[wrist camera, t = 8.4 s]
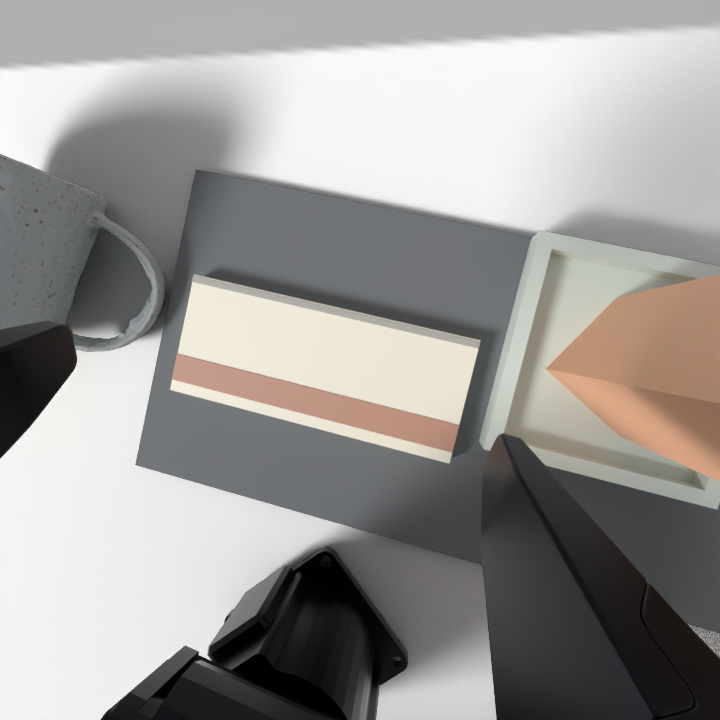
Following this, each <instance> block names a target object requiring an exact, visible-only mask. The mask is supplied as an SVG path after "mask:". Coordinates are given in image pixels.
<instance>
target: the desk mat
mask: <svg viewBox="0 0 720 720" xmlns="http://www.w3.org/2000/svg"><path fill="white" fill-rule="evenodd" d="M531 238H532V237H528V236H523V235H518V234H513V233H508V232H503V231H498V230H493V229H488V228H483V227H478V226H473V225H468V224H463V223H458V222H453V221H448V220H444V219H439V218H434V217H429V216H424V215H419V214H414V213H409V212H404V211H399V210H394V209H389V208H384V207H379V206H374V205H369V204H364V203H359V202H355V201H350V200H345V199H340V198H335V197H330V196H325V195H320V194H315V193H310V192H305V191H300V190H295V189H290V188H285V187H280V186H275V185H270V184H265V183H261V182H256V181H251V180H246V179H241V178H236V177H231V176H226V175H221V174H216V173H211V172H206V171H201V170H196V172H195V177H194V181H193V186H192V191H191V196H190V201H189V206H188V211H187V216H186V221H185V225H184V230H183V235H182V240H181V245H180V250H179V255H178V260H177V265H176V269H175V274H174V279H173V284H172V289H171V294H170V299H169V304H168V308H167V313H166V318H165V323H164V328H163V333H162V338H161V343H160V348H159V352H158V357H157V362H156V367H155V372H154V377H153V382H152V387H151V392H150V396H149V401H148V406H147V411H146V416H145V421H144V426H143V431H142V435H141V440H140V445H139V450H138V455H137V460H136V465H138V466H141V467H145V468H148V469H151V470H155V471H158V472H162V473H165V474H169V475H172V476H176V477H179V478H183V479H186V480H190V481H193V482H197V483H200V484H204V485H207V486H211V487H214V488H218V489H221V490H224V491H228V492H231V493H235V494H238V495H242V496H245V497H249V498H252V499H256V500H259V501H263V502H266V503H270V504H273V505H277V506H280V507H284V508H287V509H291V510H294V511H297V512H301V513H304V514H308V515H311V516H315V517H318V518H322V519H325V520H329V521H332V522H336V523H339V524H343V525H346V526H350V527H353V528H357V529H360V530H364V531H367V532H370V533H374V534H377V535H381V536H384V537H388V538H391V539H395V540H398V541H402V542H405V543H409V544H412V545H416V546H419V547H423V548H426V549H430V550H433V551H437V552H440V553H443V554H447V555H450V556H454V557H457V558H461V559H464V560H468V561H471V562H475V563H478V564H482V565H483V563H482V552H481V503H482V471H483V466H484V462H485V460H486V458H487V456H488V454H489V452H490V451H488V450H484V449H483V447H482V446H481V444H480V443H479V439H480V435H481V431H482V427H483V423H484V419H485V415H486V411H487V407H488V403H489V400H490V396H491V392H492V388H493V384H494V380H495V376H496V372H497V368H498V364H499V361H500V357H501V353H502V349H503V345H504V341H505V337H506V333H507V329H508V326H509V322H510V318H511V314H512V310H513V306H514V302H515V298H516V294H517V290H518V287H519V283H520V279H521V275H522V271H523V267H524V263H525V259H526V255H527V251H528V248H529V244H530V240H531ZM194 274H195V275H199V276H204V277H208V278H212V279H217V280H221V281H225V282H230V283H234V284H238V285H243V286H247V287H251V288H256V289H260V290H264V291H269V292H273V293H277V294H282V295H286V296H290V297H295V298H299V299H303V300H308V301H312V302H316V303H321V304H325V305H329V306H334V307H338V308H342V309H347V310H351V311H355V312H360V313H364V314H368V315H373V316H377V317H381V318H386V319H390V320H394V321H399V322H403V323H407V324H412V325H416V326H420V327H425V328H429V329H433V330H438V331H442V332H446V333H451V334H455V335H459V336H464V337H468V338H472V339H477V340H481V341H480V345H479V349H478V353H477V357H476V361H475V365H474V369H473V373H472V376H471V380H470V384H469V388H468V392H467V396H466V400H465V404H464V408H463V412H462V416H461V420H460V424H459V428H458V432H457V436H456V440H455V444H454V448H453V452H452V456H451V459H450V463H445V462H441V461H437V460H433V459H430V458H426V457H422V456H418V455H415V454H411V453H407V452H403V451H399V450H396V449H392V448H388V447H384V446H381V445H377V444H373V443H369V442H365V441H362V440H358V439H354V438H350V437H346V436H343V435H339V434H335V433H331V432H328V431H324V430H320V429H316V428H312V427H309V426H305V425H301V424H297V423H293V422H290V421H286V420H282V419H278V418H275V417H271V416H267V415H263V414H259V413H256V412H252V411H248V410H244V409H241V408H237V407H233V406H229V405H225V404H222V403H218V402H214V401H210V400H206V399H203V398H199V397H195V396H191V395H188V394H184V393H180V392H176V391H172V390H170V387H171V382H172V375H173V371H174V366H175V361H176V356H177V354H178V349H179V344H180V339H181V334H182V329H183V325H184V320H185V315H186V310H187V305H188V301H189V296H190V291H191V286H192V279H193V275H194ZM545 466H546V465H545ZM546 467H547V468H548V469H549V470H550V471H551V472H552V474H553V475H554V476H555V477H556V478H557V479H558V480H559V481H560V483H561V484H562V485H563V486H564V487H565V488H566V489H567V490H568V492H569V493H570V494H571V495H572V496H573V497H574V498H575V499H576V501H577V502H578V503H579V504H580V505H581V506H582V507H583V508H584V510H585V511H586V512H587V513H588V514H589V515H590V516H591V517H592V519H593V520H594V521H595V522H596V523H597V524H598V525H599V526H600V528H601V529H602V530H603V531H604V532H605V533H606V534H607V535H608V537H609V538H610V539H611V540H612V541H613V542H614V543H615V544H616V546H617V547H618V548H619V549H620V550H621V551H622V552H623V553H624V555H625V556H626V557H627V558H628V559H629V560H630V561H631V562H632V564H633V565H634V566H635V567H636V568H637V569H638V570H639V571H640V573H641V574H642V575H643V576H644V577H645V578H646V583H650V584H651V585H652V586H653V587H654V588H655V589H656V590H657V591H658V593H659V594H660V595H661V596H662V597H663V598H664V599H665V600H666V602H667V603H668V604H669V605H670V606H671V607H672V608H673V609H674V610H675V611H676V613H677V614H678V615H679V616H680V617H681V618H682V619H683V620H684V621H685V622H686V623H687V624H690V625H694V626H697V627H701V628H704V629H708V630H711V631H715V632H718V633H720V503H719V506H718V510H716V509H713V508H709V507H705V506H701V505H697V504H693V503H689V502H685V501H682V500H678V499H674V498H670V497H666V496H662V495H658V494H655V493H651V492H647V491H643V490H639V489H635V488H631V487H627V486H624V485H620V484H616V483H612V482H608V481H604V480H600V479H596V478H593V477H589V476H585V475H581V474H577V473H573V472H569V471H565V470H562V469H558V468H554V467H550V466H546Z"/></svg>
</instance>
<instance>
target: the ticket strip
mask: <svg viewBox="0 0 720 720" xmlns="http://www.w3.org/2000/svg"><path fill="white" fill-rule="evenodd" d="M480 341H481V340H477V339H472V338H468V337H464V336H459V335H455V334H451V333H446V332H442V331H438V330H433V329H429V328H425V327H420V326H416V325H412V324H407V323H403V322H399V321H394V320H390V319H386V318H381V317H377V316H373V315H368V314H364V313H360V312H355V311H351V310H347V309H342V308H338V307H334V306H329V305H325V304H321V303H316V302H312V301H308V300H303V299H299V298H295V297H290V296H286V295H282V294H277V293H273V292H269V291H264V290H260V289H256V288H251V287H247V286H243V285H238V284H234V283H230V282H225V281H221V280H217V279H212V278H208V277H204V276H199V275H195V274H194V275H193V279H192V286H191V291H190V296H189V301H188V305H187V310H186V315H185V320H184V325H183V329H182V334H181V339H180V344H179V349H178V354H177V356H176V361H175V366H174V371H173V375H172V382H171V387H170V390H172V391H176V392H180V393H184V394H188V395H191V396H195V397H199V398H203V399H206V400H210V401H214V402H218V403H222V404H225V405H229V406H233V407H237V408H241V409H244V410H248V411H252V412H256V413H259V414H263V415H267V416H271V417H275V418H278V419H282V420H286V421H290V422H293V423H297V424H301V425H305V426H309V427H312V428H316V429H320V430H324V431H328V432H331V433H335V434H339V435H343V436H346V437H350V438H354V439H358V440H362V441H365V442H369V443H373V444H377V445H381V446H384V447H388V448H392V449H396V450H399V451H403V452H407V453H411V454H415V455H418V456H422V457H426V458H430V459H433V460H437V461H441V462H445V463H450V459H451V456H452V452H453V448H454V444H455V440H456V436H457V432H458V428H459V424H460V420H461V416H462V412H463V408H464V404H465V400H466V396H467V392H468V388H469V384H470V380H471V376H472V373H473V369H474V365H475V361H476V357H477V353H478V349H479V345H480Z"/></svg>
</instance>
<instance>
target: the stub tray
mask: <svg viewBox="0 0 720 720" xmlns="http://www.w3.org/2000/svg"><path fill="white" fill-rule="evenodd" d="M718 274H720V266H716V265H711V264H706V263H701V262H696V261H691V260H686V259H681V258H676V257H671V256H666V255H661V254H656V253H651V252H646V251H641V250H636V249H631V248H626V247H621V246H616V245H611V244H606V243H601V242H596V241H591V240H586V239H581V238H576V237H571V236H566V235H561V234H556V233H551V232H546V231H541V230H540V231H539V232H538V233H537V234H536V235H535V236H534V237H532V238H531V240H530V244H529V248H528V251H527V255H526V259H525V263H524V267H523V271H522V275H521V279H520V283H519V287H518V290H517V294H516V298H515V302H514V306H513V310H512V314H511V318H510V322H509V326H508V329H507V333H506V337H505V341H504V345H503V349H502V353H501V357H500V361H499V364H498V368H497V372H496V376H495V380H494V384H493V388H492V392H491V396H490V400H489V403H488V407H487V411H486V415H485V419H484V423H483V427H482V431H481V435H480V439H479V443H480V444H481V446H482V447H483V449H484V450H488V451H490V450H491V448H492V446H493V443H494V441H495V439H496V438H497V436H498V435H499V434H501V433H504V434H508V435H513V436H517V437H519V438H521V439H522V440H523V441H524V442H525V443H526V444H527V445H528V447H529V448H530V449H531V450H532V451H533V452H534V453H535V454H536V456H537V457H538V458H539V459H540V460H541V461H542V462H543V463H544V465H546V466H550V467H554V468H558V469H562V470H565V471H569V472H573V473H577V474H581V475H585V476H589V477H593V478H596V479H600V480H604V481H608V482H612V483H616V484H620V485H624V486H627V487H631V488H635V489H639V490H643V491H647V492H651V493H655V494H658V495H662V496H666V497H670V498H674V499H678V500H682V501H685V502H689V503H693V504H697V505H701V506H705V507H709V508H713V509H716V510H718V506H719V503H720V482H719V481H717V480H714V479H712V478H710V477H708V476H706V475H704V474H701V473H699V472H697V471H695V470H693V469H690V468H688V467H686V466H684V465H682V464H680V463H677V462H675V461H673V460H671V459H669V458H666V457H664V456H662V455H660V454H658V453H655V452H653V451H651V450H649V449H647V448H645V447H642V446H640V445H638V444H636V443H634V442H631V441H629V440H627V439H625V438H623V437H620V436H618V435H617V434H616V433H615V432H614V431H613V430H612V429H611V428H610V427H609V426H608V425H606V424H605V423H604V422H603V421H602V420H601V419H600V418H599V417H598V416H597V415H595V414H594V413H593V412H592V411H591V410H590V409H589V408H588V407H587V406H586V405H584V404H583V403H582V402H581V401H580V400H579V399H578V398H577V397H576V396H575V395H574V394H572V393H571V392H570V391H569V390H568V389H567V388H566V387H565V386H564V385H563V384H561V383H560V382H559V381H558V380H557V379H556V378H555V377H554V376H553V375H552V374H550V373H549V372H548V371H547V370H546V368H547V367H548V366H549V365H550V364H551V363H552V362H553V361H554V360H555V359H556V358H557V357H558V356H559V355H560V354H561V353H562V352H563V351H564V350H565V349H566V348H567V347H568V346H569V345H570V344H571V343H572V342H573V341H574V340H575V339H576V338H577V337H578V336H579V335H580V334H581V333H582V332H583V331H584V330H585V329H586V328H587V327H588V326H589V325H590V324H591V323H592V322H593V321H594V320H595V319H596V318H597V317H598V316H599V315H600V314H601V313H602V312H603V311H604V310H605V309H606V308H607V307H608V306H609V305H610V304H611V303H612V302H613V301H614V300H615V299H616V298H617V297H621V296H625V295H630V294H634V293H639V292H643V291H647V290H652V289H656V288H661V287H665V286H669V285H674V284H678V283H682V282H687V281H691V280H696V279H700V278H704V277H709V276H713V275H718Z"/></svg>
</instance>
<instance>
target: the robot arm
mask: <svg viewBox="0 0 720 720" xmlns="http://www.w3.org/2000/svg"><path fill="white" fill-rule="evenodd" d="M76 363H77V355H76V349H75V343H74V337H73V332H72V329H71V328H70V327H69V326H68V325H66V324H62V323H58V322H54V321H41V322H36V323H31V324H25V325H20V326H15V327H10V328H5V329H0V458H1V457H2V456H3V455H4V454H5V453H6V452H7V451H8V450H9V449H10V448H11V447H12V446H13V445H14V444H15V443H16V442H17V440H18V439H19V438H20V437H21V436H22V435H23V434H24V433H25V432H26V431H27V430H28V428H29V427H30V426H31V425H32V424H33V423H34V421H35V420H36V419H37V418H38V416H39V415H40V414H41V412H42V411H43V410H44V408H45V407H46V406H47V405H48V403H49V402H50V401H51V399H52V398H53V397H54V395H55V394H56V393H57V392H58V390H59V389H60V388H61V386H62V385H63V384H64V382H65V381H66V380H67V378H68V377H69V376H70V375H71V373H72V372H73V370H74V369H75V367H76ZM481 552H482V563H483V574H484V585H485V596H486V607H487V618H488V629H489V640H490V651H491V662H492V673H493V684H494V695H495V706H496V716H497V720H720V658H719V657H718V656H717V655H716V654H715V653H714V652H713V651H712V650H711V649H710V648H709V647H708V646H707V645H706V644H705V642H704V641H703V640H702V639H701V638H700V637H699V636H698V635H697V634H696V633H695V632H694V631H693V630H692V629H691V628H690V627H689V626H688V624H687V623H686V622H685V621H684V620H683V619H682V618H681V617H680V616H679V615H678V614H677V613H676V611H675V610H674V609H673V608H672V607H671V606H670V605H669V604H668V603H667V602H666V600H665V599H664V598H663V597H662V596H661V595H660V594H659V593H658V591H657V590H656V589H655V588H654V587H653V586H652V585H651V584H650V583H646V578H645V577H644V576H643V575H642V574H641V573H640V571H639V570H638V569H637V568H636V567H635V566H634V565H633V564H632V562H631V561H630V560H629V559H628V558H627V557H626V556H625V555H624V553H623V552H622V551H621V550H620V549H619V548H618V547H617V546H616V544H615V543H614V542H613V541H612V540H611V539H610V538H609V537H608V535H607V534H606V533H605V532H604V531H603V530H602V529H601V528H600V526H599V525H598V524H597V523H596V522H595V521H594V520H593V519H592V517H591V516H590V515H589V514H588V513H587V512H586V511H585V510H584V508H583V507H582V506H581V505H580V504H579V503H578V502H577V501H576V499H575V498H574V497H573V496H572V495H571V494H570V493H569V492H568V490H567V489H566V488H565V487H564V486H563V485H562V484H561V483H560V481H559V480H558V479H557V478H556V477H555V476H554V475H553V474H552V472H551V471H550V470H549V469H548V468H547V467H546V466H545V465H544V463H543V462H542V461H541V460H540V459H539V458H538V457H537V456H536V454H535V453H534V452H533V451H532V450H531V449H530V448H529V447H528V445H527V444H526V443H525V442H524V441H523V440H522V439H521V438H519V437H517V436H513V435H508V434H504V433H501V434H499V435H498V436H497V438H496V439H495V441H494V443H493V446H492V448H491V450H490V452H489V454H488V456H487V458H486V460H485V462H484V466H483V471H482V503H481ZM324 556H326V557H328V558H330V560H331V562H330V563H325V562H324V561H323V560H322V557H324ZM198 654H199V651H196V650H194V649H192V648H190V647H187V646H184V647H183V648H182V649H181V650H179V651H178V652H177V653H176V654H175V655H174V656H172V657H171V658H170V659H168V660H167V661H165V662H164V663H163V664H162V665H161V666H160V667H158V668H157V669H156V670H155V671H154V672H153V673H151V674H150V675H149V676H148V677H147V678H146V679H144V680H143V681H142V682H141V683H140V684H139V685H137V686H136V687H135V688H134V689H133V690H132V691H130V692H129V693H128V694H127V695H126V696H125V697H123V698H122V699H121V700H120V701H119V702H118V703H116V704H115V705H114V706H113V707H112V708H110V709H109V710H108V711H107V712H106V713H105V715H104V716H103V717H102V719H101V720H376V715H377V705H378V696H379V687H380V685H382V684H383V683H385V682H386V681H388V680H390V679H391V678H393V677H394V676H396V675H398V674H399V673H401V672H402V671H404V670H405V669H406V667H407V665H408V653H407V651H406V649H405V648H404V647H403V645H402V644H401V643H400V641H399V640H398V638H397V637H396V636H395V634H394V633H393V631H392V630H391V629H390V627H389V626H388V624H387V623H386V622H385V620H384V619H383V617H382V616H381V615H380V613H379V612H378V610H377V609H376V608H375V606H374V605H373V603H372V602H371V601H370V599H369V598H368V596H367V595H366V594H365V592H364V591H363V589H362V588H361V587H360V585H359V584H358V583H357V581H356V580H355V578H354V577H353V576H352V574H351V573H350V571H349V570H348V569H347V567H346V566H345V564H344V563H343V562H342V560H341V559H340V557H339V556H338V555H337V553H336V552H335V551H334V550H333V549H331V548H329V547H324V548H322V549H320V550H319V551H317V552H316V553H314V554H313V555H311V556H310V557H308V558H307V559H306V560H304V561H303V562H301V563H300V564H298V565H297V566H295V567H294V568H292V566H287V565H285V566H283V567H282V568H280V569H279V570H277V571H276V572H274V573H273V574H271V575H270V576H269V577H267V578H266V579H264V580H263V581H261V582H260V583H258V584H257V585H256V586H254V587H253V588H251V589H250V590H248V591H247V592H246V593H245V594H244V596H243V597H242V599H241V600H240V601H239V603H238V604H237V606H236V607H235V608H234V609H233V610H232V611H231V612H230V613H229V614H228V616H227V617H226V619H225V622H224V625H223V626H222V628H221V629H220V631H219V632H218V634H217V635H216V637H215V638H214V640H213V641H212V642H211V644H210V645H209V649H208V654H207V655H208V656H209V658H210V659H211V661H210V660H208V659H206V658H204V657H201V656H199V655H198ZM395 656H398V657H400V658H401V660H400V661H395V660H394V659H393V657H395Z"/></svg>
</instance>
